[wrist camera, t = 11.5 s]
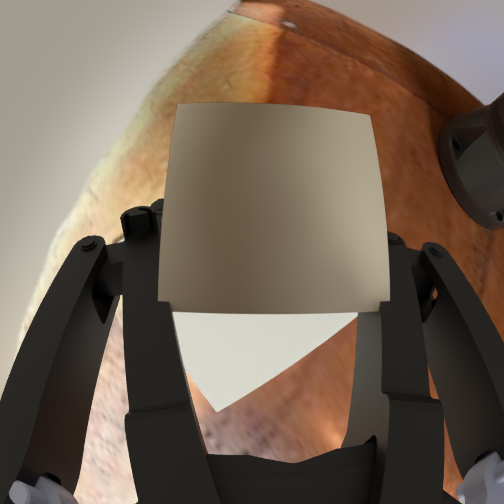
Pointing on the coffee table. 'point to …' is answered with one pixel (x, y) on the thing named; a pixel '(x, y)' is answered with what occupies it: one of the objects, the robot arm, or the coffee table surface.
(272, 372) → the mat
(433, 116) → the coffee table surface
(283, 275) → the birch block
